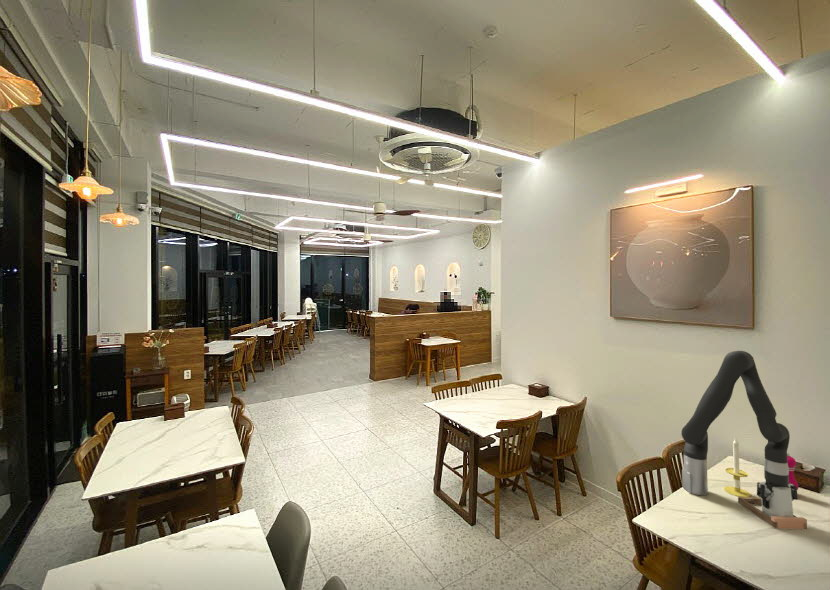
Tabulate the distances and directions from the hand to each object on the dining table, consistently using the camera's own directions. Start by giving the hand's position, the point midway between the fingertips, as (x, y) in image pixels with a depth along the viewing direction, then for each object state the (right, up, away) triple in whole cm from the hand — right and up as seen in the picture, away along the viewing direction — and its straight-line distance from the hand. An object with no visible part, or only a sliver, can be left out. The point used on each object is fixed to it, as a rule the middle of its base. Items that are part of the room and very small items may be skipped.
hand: (777, 508), depth 156 cm
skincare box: (0, -5, 0) cm, 5 cm away
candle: (+3, -5, +22) cm, 23 cm away
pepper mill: (+25, -5, +20) cm, 33 cm away
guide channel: (0, -5, +3) cm, 6 cm away
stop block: (0, -5, -5) cm, 7 cm away
